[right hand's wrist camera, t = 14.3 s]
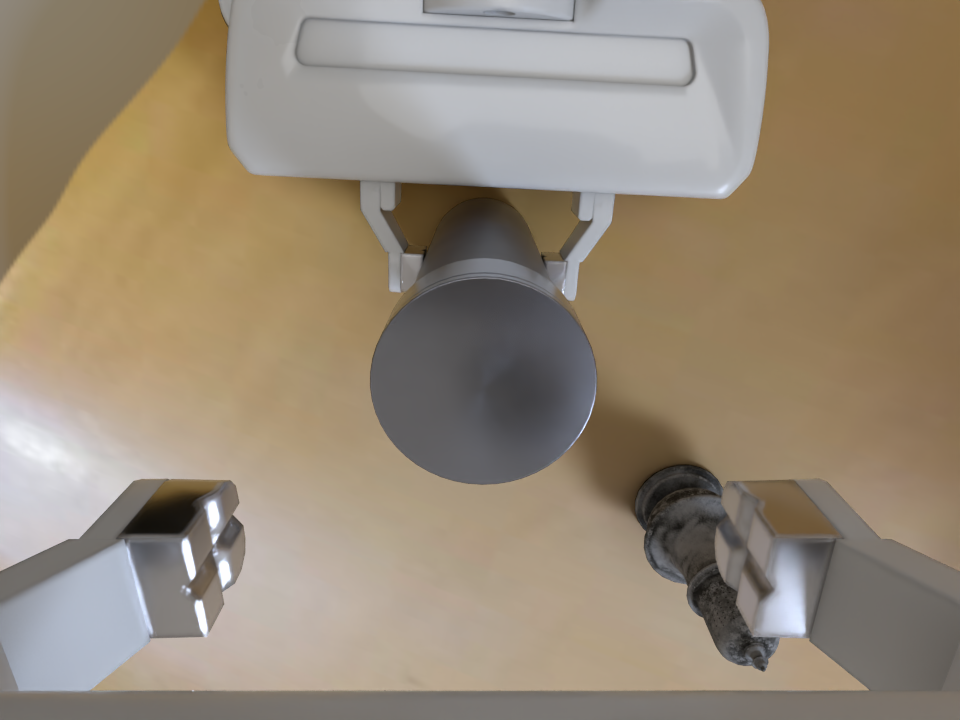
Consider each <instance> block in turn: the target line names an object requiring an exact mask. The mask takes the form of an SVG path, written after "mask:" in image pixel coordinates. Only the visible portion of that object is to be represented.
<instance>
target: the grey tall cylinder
mask: <svg viewBox="0 0 960 720" xmlns="http://www.w3.org/2000/svg"><path fill="white" fill-rule="evenodd" d="M478 258H490V259H500V260H505V261H510V262H514V263H517V264H519V265H522V266H525V267H527V268H529V269H531V270H533V271H535V272H537V273H539V274H540V275H542V276H543V277H545V278H546V279H548V280H549V281H550V282H551V280H550V277H549V275H548V273H547V270H546V268H545V265H544V263H543V261H542V258H541V256H540V253H539V251H538V249H537V246H536V244H535V241H534V239H533V237H532V234H531V232H530V229H529V227H528V225H527V223H526V222H525V220H524V219H523V217H522V216H521V215H520V214H519V213H518V212H517V211H516V210H515V209H514V208H512V207H511V206H509V205H507V204H506V203H504V202H501V201H498V200H494V199H489V198H477V199H472V200H468V201H465V202H463V203H461V204H459V205H457V206H455V207H454V208H452V209H451V210H450V211H449V212H448V213H447V214H446V215H445V216H444V217H443V219H442V220H441V222H440V223H439V225H438V227H437V229H436V232H435V234H434V237H433V239H432V242H431V244H430V247H429V249H428V252H427V254H426V256H425V259H424V261H423V264H422V266H421V269H420V271H419V274H418V276H417V279H416V281H415V283H416V282H417V281H418V280H419V279H421V278H422V277H424V276H425V275H427V274H428V273H430V272H432V271H434V270H436V269H438V268H440V267H442V266H444V265H447V264H450V263H454V262H457V261H462V260H467V259H478ZM415 283H414V284H415ZM551 283H552V282H551Z"/></svg>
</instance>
